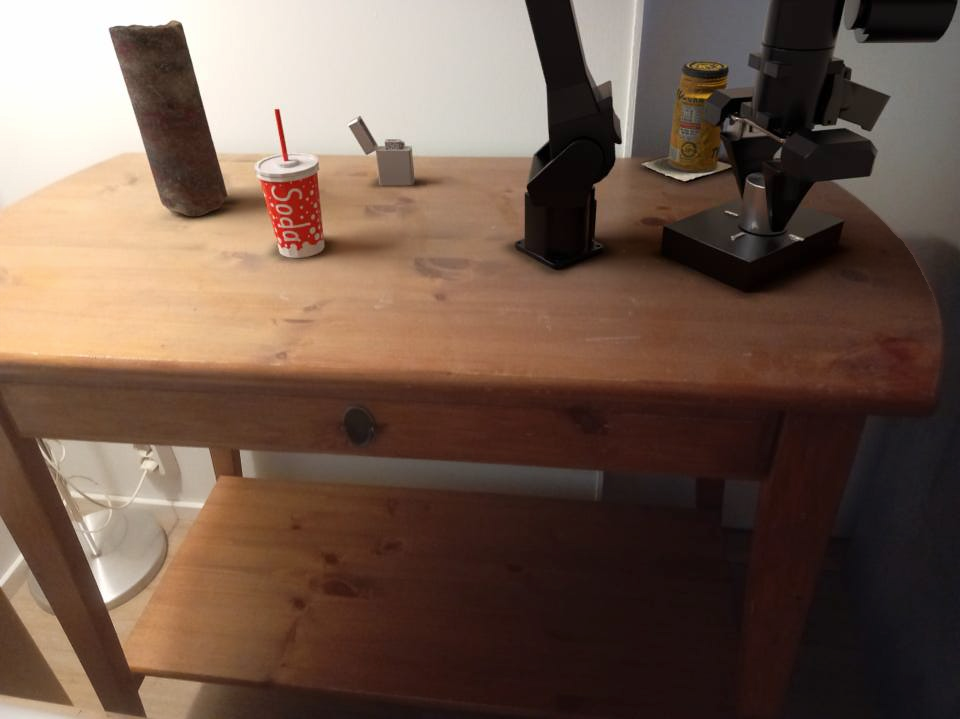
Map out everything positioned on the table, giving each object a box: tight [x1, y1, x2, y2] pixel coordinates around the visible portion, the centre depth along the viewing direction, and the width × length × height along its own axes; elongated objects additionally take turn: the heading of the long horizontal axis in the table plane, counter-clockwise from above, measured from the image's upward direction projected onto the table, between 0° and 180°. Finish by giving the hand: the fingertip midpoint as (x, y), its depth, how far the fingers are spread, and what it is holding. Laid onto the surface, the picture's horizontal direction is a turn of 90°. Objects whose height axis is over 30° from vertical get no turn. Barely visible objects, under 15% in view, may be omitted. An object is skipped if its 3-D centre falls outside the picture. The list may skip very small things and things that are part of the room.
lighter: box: [347, 115, 416, 186], centre depth 89 cm, size 7×2×8 cm, turn 85°
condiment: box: [642, 60, 732, 182], centre depth 89 cm, size 7×8×12 cm
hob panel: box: [659, 196, 845, 293], centre depth 71 cm, size 14×10×3 cm
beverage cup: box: [254, 108, 326, 259], centre depth 72 cm, size 6×6×14 cm
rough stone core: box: [108, 19, 228, 217], centre depth 81 cm, size 8×7×20 cm
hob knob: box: [739, 172, 789, 235], centre depth 68 cm, size 4×4×5 cm
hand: (763, 221), depth 69 cm, fingers closed on hob knob, 4 cm apart
